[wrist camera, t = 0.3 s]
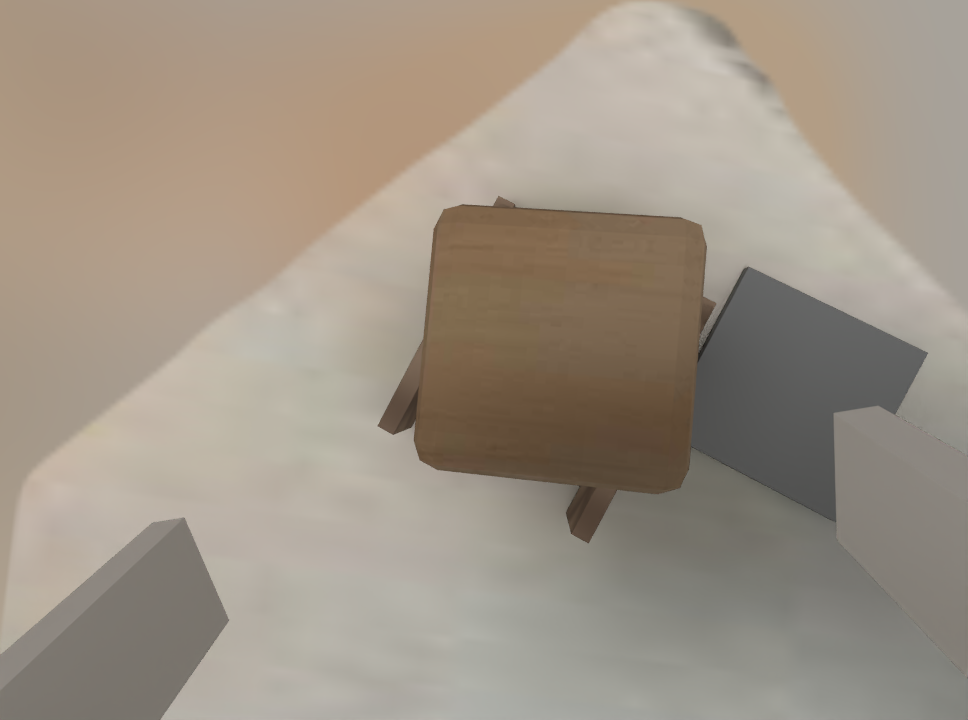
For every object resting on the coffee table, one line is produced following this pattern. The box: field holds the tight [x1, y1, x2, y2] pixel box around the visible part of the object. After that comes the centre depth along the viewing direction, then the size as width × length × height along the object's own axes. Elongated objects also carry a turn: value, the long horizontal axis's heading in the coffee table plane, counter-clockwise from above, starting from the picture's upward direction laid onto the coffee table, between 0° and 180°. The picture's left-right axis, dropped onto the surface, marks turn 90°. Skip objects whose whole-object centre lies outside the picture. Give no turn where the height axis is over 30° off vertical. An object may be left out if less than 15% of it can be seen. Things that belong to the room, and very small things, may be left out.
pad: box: [691, 267, 928, 522], centre depth 36 cm, size 13×13×1 cm
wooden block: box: [414, 204, 707, 494], centre depth 28 cm, size 10×10×20 cm
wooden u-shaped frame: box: [378, 196, 716, 543], centre depth 35 cm, size 17×15×5 cm
